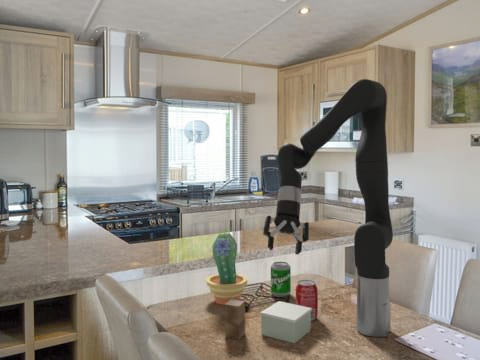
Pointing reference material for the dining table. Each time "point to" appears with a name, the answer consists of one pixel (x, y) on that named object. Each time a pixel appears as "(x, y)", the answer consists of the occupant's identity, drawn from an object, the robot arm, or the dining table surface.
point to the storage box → (286, 321)
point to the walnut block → (234, 319)
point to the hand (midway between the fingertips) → (284, 251)
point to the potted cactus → (225, 271)
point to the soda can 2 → (307, 296)
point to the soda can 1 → (280, 279)
